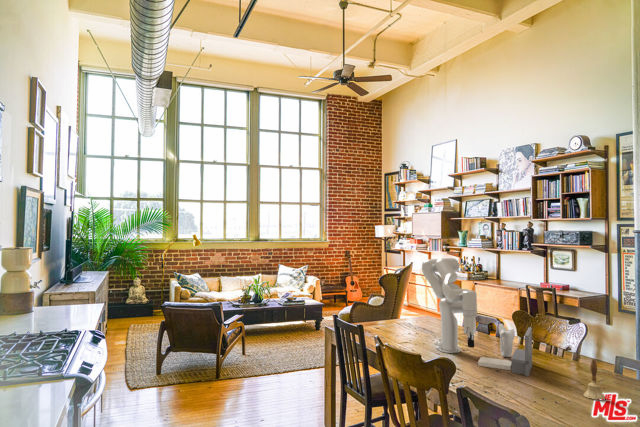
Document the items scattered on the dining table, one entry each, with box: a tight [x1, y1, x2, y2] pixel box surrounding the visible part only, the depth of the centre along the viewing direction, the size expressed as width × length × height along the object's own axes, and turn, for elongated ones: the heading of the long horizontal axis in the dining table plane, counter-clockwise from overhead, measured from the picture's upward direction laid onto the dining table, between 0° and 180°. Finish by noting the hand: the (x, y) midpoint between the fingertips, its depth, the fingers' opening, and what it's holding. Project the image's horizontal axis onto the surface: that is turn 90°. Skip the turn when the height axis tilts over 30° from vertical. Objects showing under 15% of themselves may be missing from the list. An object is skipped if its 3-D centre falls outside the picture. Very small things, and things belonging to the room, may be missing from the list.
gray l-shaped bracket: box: [510, 326, 533, 378], centre depth 222 cm, size 8×21×20 cm, turn 149°
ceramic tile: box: [477, 356, 512, 371], centre depth 228 cm, size 16×10×2 cm, turn 61°
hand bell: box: [583, 359, 606, 400], centre depth 185 cm, size 8×8×16 cm
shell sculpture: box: [498, 323, 516, 358], centre depth 244 cm, size 8×8×18 cm
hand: (471, 347), depth 234 cm, fingers closed
